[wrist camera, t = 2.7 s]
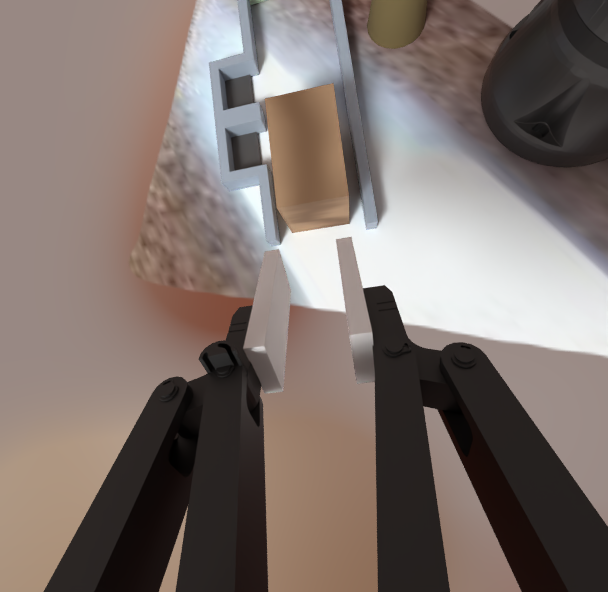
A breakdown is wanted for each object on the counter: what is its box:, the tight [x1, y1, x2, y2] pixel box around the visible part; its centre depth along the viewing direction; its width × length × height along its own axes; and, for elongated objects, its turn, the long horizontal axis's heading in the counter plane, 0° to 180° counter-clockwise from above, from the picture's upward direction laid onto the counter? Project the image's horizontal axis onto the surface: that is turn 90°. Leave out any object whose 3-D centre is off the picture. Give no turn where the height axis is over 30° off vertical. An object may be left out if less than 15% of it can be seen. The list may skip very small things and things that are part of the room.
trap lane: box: [209, 0, 378, 246], centre depth 32 cm, size 15×30×3 cm, turn 8°
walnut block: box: [265, 83, 349, 233], centre depth 29 cm, size 6×10×7 cm, turn 7°
